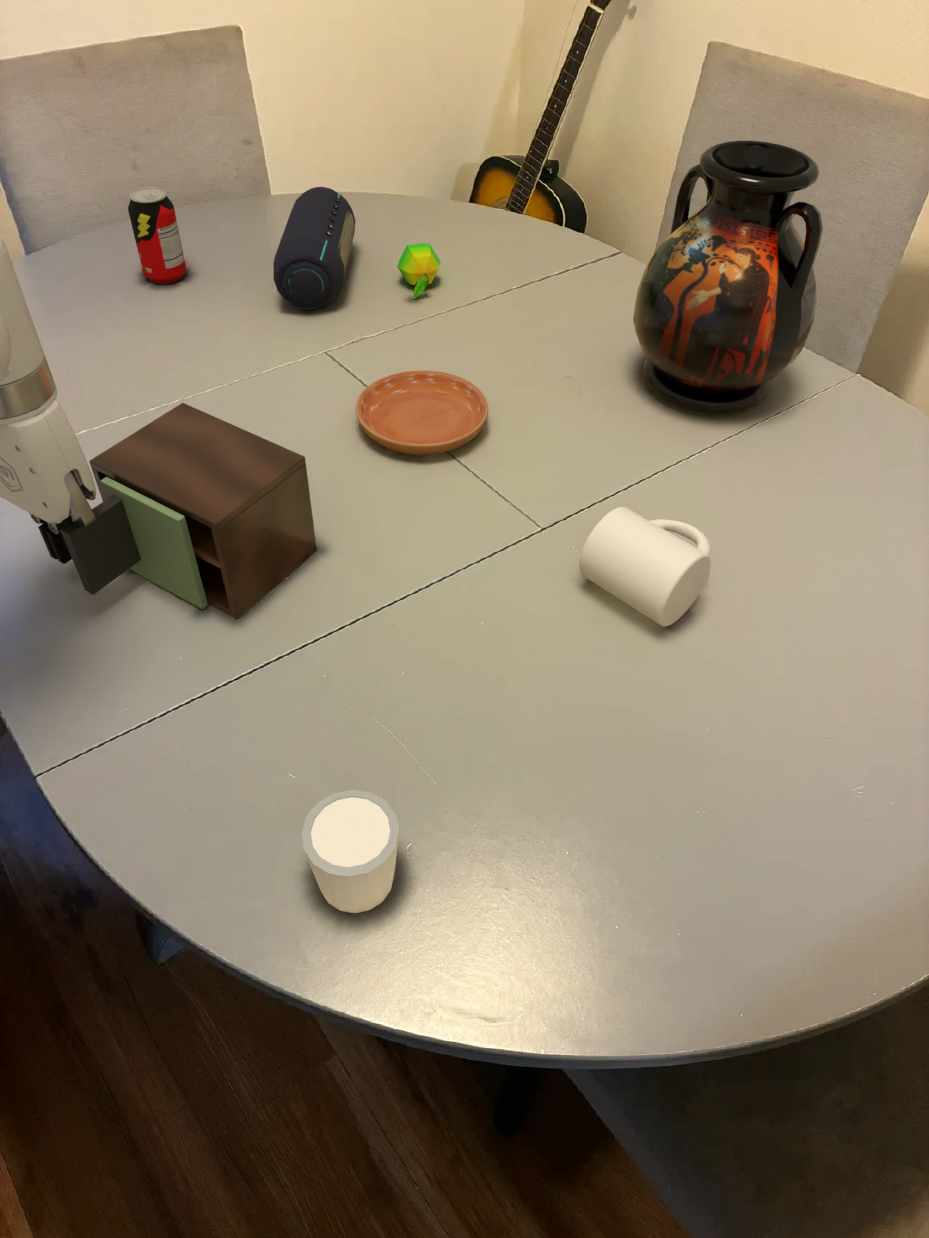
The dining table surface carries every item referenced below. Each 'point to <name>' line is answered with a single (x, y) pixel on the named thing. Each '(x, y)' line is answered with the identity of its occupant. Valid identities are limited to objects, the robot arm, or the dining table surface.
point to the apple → (419, 266)
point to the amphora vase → (731, 281)
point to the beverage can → (156, 235)
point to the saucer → (422, 412)
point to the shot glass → (352, 849)
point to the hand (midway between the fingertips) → (70, 552)
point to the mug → (647, 563)
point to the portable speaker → (314, 249)
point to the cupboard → (221, 499)
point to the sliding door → (135, 544)
